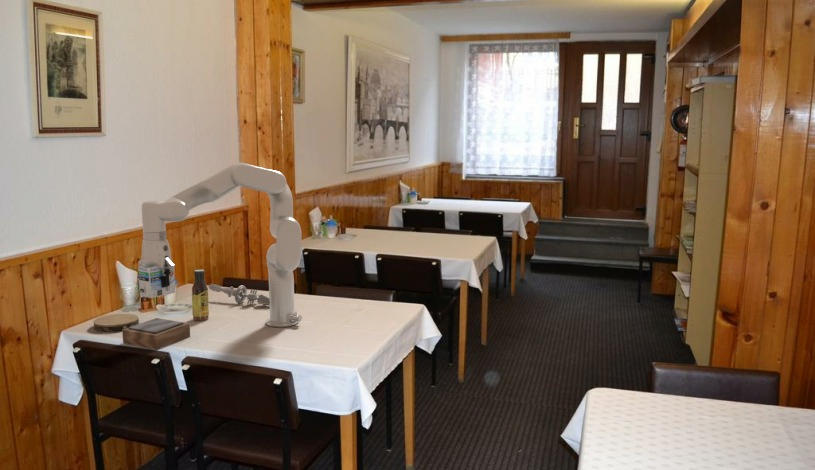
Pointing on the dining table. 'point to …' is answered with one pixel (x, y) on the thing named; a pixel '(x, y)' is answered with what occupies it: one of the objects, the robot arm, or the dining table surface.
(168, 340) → the walnut base
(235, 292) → the spaceship
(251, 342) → the dining table surface
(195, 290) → the sauce bottle
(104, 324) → the round wood slice
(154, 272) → the light bulb box
